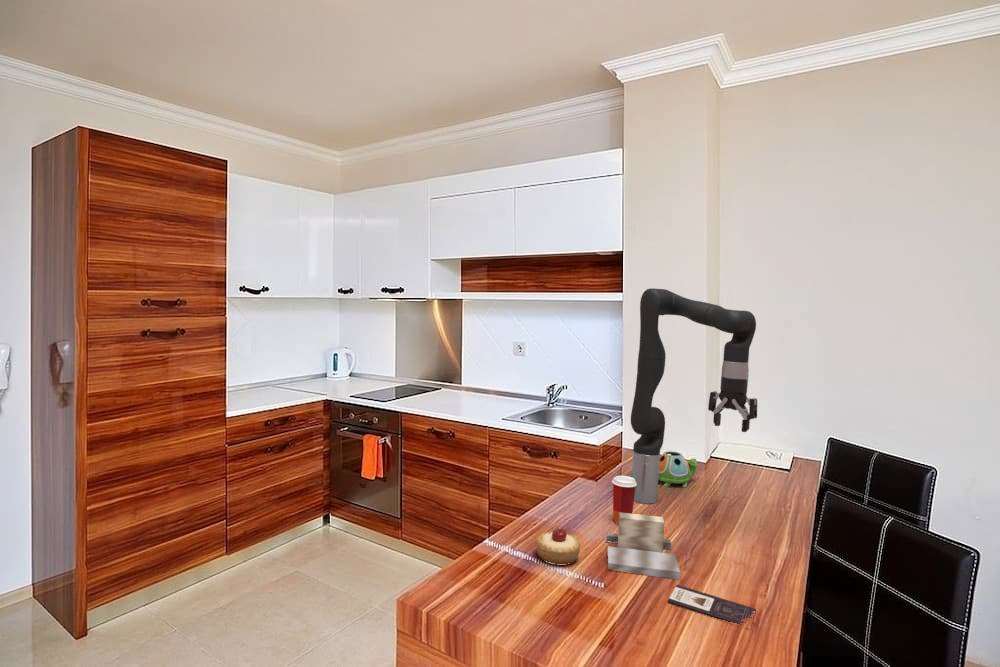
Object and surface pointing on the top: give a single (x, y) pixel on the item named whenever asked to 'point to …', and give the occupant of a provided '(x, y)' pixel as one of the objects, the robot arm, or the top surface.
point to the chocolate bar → (709, 605)
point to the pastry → (558, 547)
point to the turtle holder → (675, 468)
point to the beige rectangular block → (641, 532)
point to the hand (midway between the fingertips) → (730, 428)
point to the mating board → (643, 560)
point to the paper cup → (623, 495)
